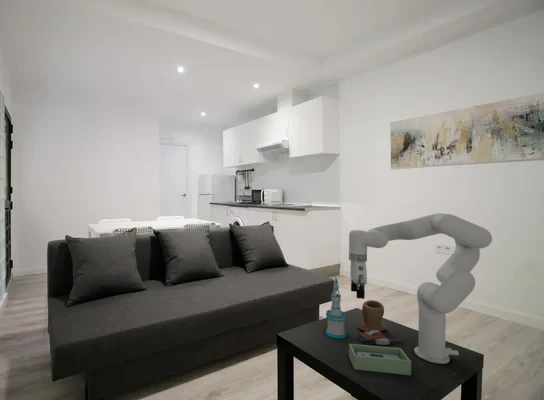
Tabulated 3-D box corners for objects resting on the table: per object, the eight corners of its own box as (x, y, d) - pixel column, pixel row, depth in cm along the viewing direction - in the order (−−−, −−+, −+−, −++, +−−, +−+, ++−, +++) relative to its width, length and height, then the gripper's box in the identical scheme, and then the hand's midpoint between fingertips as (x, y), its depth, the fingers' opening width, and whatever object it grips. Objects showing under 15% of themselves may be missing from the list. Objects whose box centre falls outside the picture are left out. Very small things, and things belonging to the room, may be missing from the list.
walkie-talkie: (366, 347, 135) (404, 343, 139) (366, 338, 135) (404, 334, 139) (354, 338, 144) (390, 335, 148) (354, 329, 144) (390, 326, 147)
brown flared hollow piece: (371, 337, 145) (371, 307, 145) (353, 327, 156) (353, 299, 156) (394, 333, 150) (394, 303, 149) (375, 323, 161) (376, 296, 161)
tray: (400, 361, 124) (400, 348, 124) (411, 375, 114) (411, 361, 114) (348, 356, 128) (348, 343, 128) (354, 369, 118) (354, 355, 118)
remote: (397, 363, 122) (397, 354, 122) (401, 369, 117) (401, 361, 117) (355, 358, 125) (356, 351, 125) (358, 365, 120) (358, 356, 120)
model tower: (337, 328, 155) (337, 271, 155) (350, 337, 145) (351, 276, 145) (321, 330, 152) (321, 272, 152) (333, 339, 143) (334, 277, 142)
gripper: (372, 261, 126) (372, 301, 126) (361, 254, 143) (360, 289, 143) (354, 261, 127) (353, 300, 127) (344, 253, 144) (344, 288, 144)
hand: (357, 294), depth 135 cm, fingers open, 9 cm apart
